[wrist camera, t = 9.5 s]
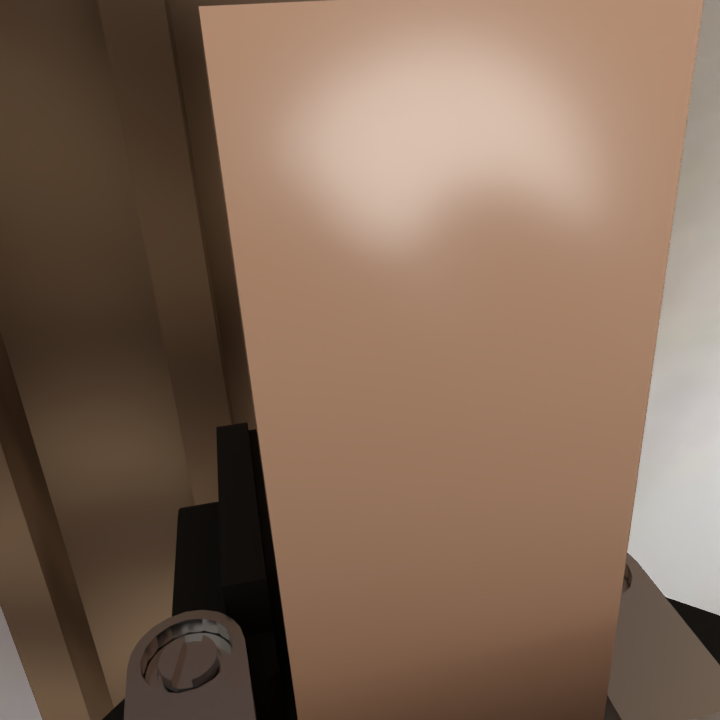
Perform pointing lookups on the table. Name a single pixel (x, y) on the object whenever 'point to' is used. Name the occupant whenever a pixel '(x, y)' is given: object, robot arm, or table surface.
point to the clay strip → (450, 330)
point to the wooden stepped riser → (107, 329)
